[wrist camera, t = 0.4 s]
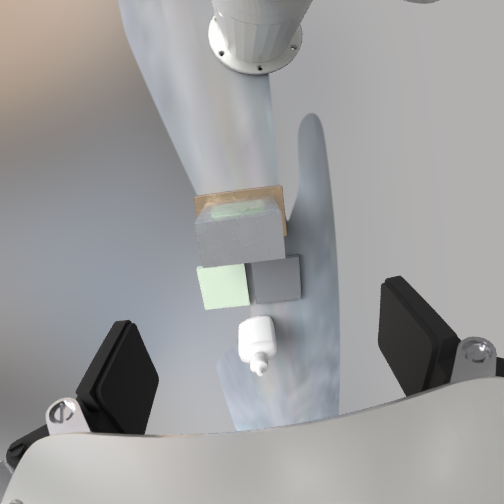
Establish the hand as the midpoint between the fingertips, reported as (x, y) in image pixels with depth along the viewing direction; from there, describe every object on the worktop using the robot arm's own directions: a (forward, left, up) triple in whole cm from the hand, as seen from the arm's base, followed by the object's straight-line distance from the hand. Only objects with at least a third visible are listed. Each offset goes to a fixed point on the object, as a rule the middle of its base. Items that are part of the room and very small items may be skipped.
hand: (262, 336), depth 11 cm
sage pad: (+14, -5, -33) cm, 36 cm away
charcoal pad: (+14, +3, -33) cm, 36 cm away
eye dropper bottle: (+22, -1, -33) cm, 40 cm away
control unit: (+4, -1, -33) cm, 33 cm away
